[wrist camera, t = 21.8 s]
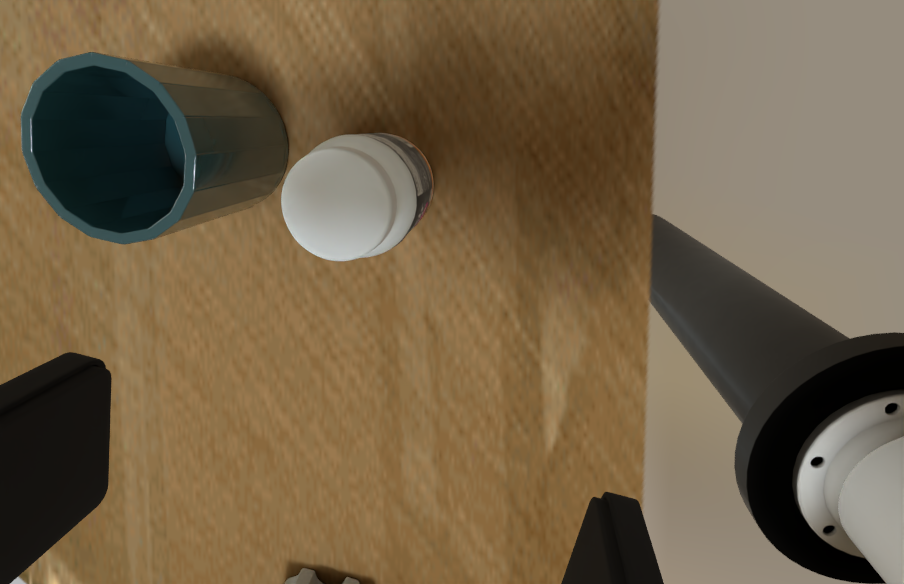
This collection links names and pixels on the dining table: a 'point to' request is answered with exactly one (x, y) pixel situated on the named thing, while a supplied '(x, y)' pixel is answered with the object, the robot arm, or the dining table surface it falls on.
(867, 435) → the robot arm
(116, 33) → the dining table surface
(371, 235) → the pill bottle
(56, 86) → the cup
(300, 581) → the egg carton
